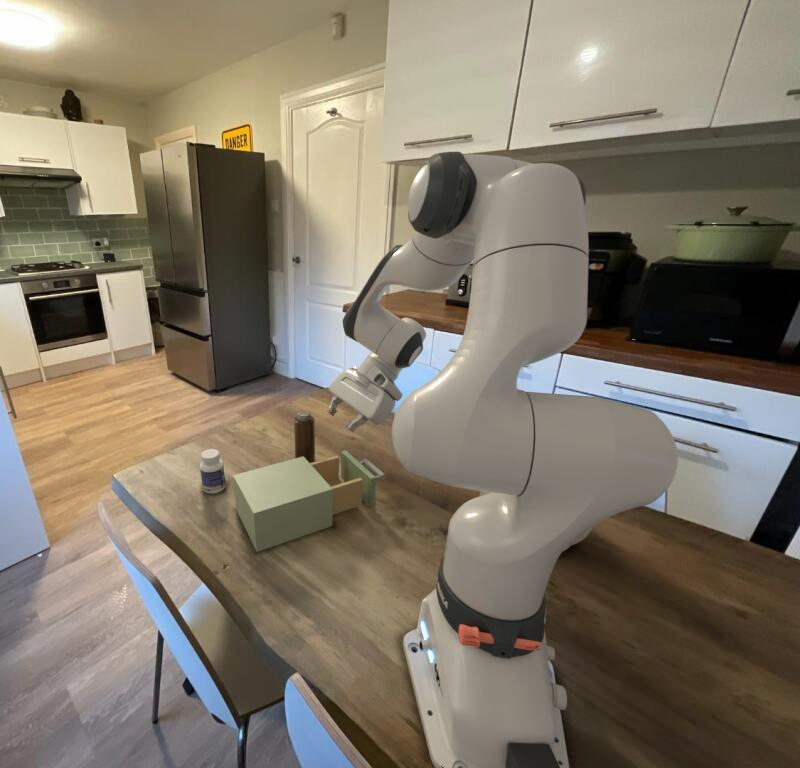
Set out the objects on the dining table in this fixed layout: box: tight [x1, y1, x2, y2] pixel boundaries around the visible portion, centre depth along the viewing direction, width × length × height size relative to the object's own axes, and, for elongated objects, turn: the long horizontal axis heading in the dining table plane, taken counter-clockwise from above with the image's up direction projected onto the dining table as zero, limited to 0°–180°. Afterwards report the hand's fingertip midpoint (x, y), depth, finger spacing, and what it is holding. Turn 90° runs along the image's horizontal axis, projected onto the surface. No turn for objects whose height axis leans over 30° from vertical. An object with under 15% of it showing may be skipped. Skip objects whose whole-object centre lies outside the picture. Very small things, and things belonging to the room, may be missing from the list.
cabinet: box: [232, 456, 333, 553], centre depth 81 cm, size 16×13×9 cm
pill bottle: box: [199, 448, 226, 495], centre depth 91 cm, size 5×5×9 cm
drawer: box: [310, 449, 387, 516], centre depth 85 cm, size 19×12×7 cm, turn 113°
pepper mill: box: [293, 409, 316, 463], centre depth 97 cm, size 5×5×14 cm
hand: (338, 421), depth 99 cm, fingers open, 8 cm apart
